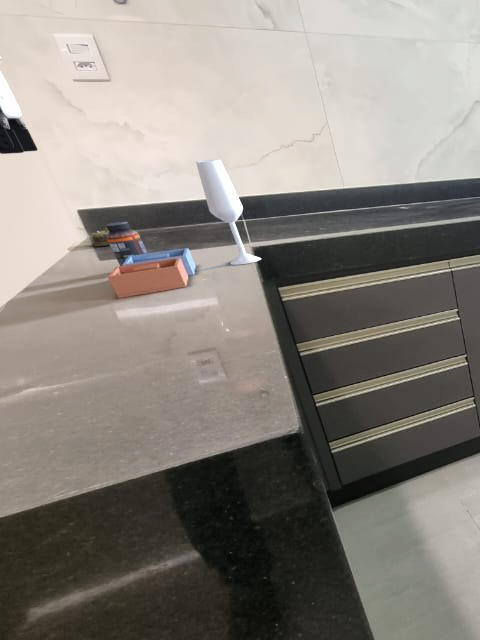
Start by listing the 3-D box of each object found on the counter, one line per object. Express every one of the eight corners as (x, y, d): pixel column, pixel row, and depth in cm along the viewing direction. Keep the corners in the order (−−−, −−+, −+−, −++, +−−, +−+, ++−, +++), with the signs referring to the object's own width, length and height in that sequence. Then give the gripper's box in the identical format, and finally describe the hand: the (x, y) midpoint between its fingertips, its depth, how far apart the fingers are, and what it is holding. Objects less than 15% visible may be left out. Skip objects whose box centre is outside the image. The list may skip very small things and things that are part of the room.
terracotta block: (141, 288, 113) (132, 270, 111) (143, 284, 116) (135, 266, 114) (165, 284, 115) (157, 266, 113) (166, 280, 118) (158, 263, 116)
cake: (101, 249, 157) (90, 232, 154) (90, 247, 162) (79, 229, 159) (141, 239, 164) (131, 222, 161) (129, 237, 169) (119, 220, 166)
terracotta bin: (118, 298, 109) (107, 276, 107) (125, 287, 116) (115, 266, 114) (186, 286, 115) (177, 266, 113) (188, 276, 122) (180, 257, 120)
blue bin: (131, 284, 118) (122, 264, 116) (137, 275, 125) (128, 256, 123) (194, 274, 124) (185, 255, 122) (195, 266, 131) (188, 247, 129)
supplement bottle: (149, 264, 134) (129, 219, 130) (157, 267, 131) (136, 221, 126) (119, 270, 130) (97, 224, 125) (126, 274, 127) (104, 226, 122)
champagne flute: (258, 256, 138) (222, 158, 128) (264, 260, 134) (228, 159, 123) (227, 261, 134) (188, 161, 124) (232, 266, 130) (192, 162, 119)
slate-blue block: (152, 276, 122) (144, 259, 120) (154, 272, 125) (146, 255, 123) (174, 272, 124) (167, 255, 122) (175, 269, 127) (168, 252, 125)
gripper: (-46, 54, 98) (5, 152, 106) (-86, 43, 86) (-24, 155, 93) (11, 54, 102) (57, 149, 110) (-19, 44, 89) (35, 152, 97)
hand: (19, 152), depth 101 cm, fingers open, 9 cm apart
